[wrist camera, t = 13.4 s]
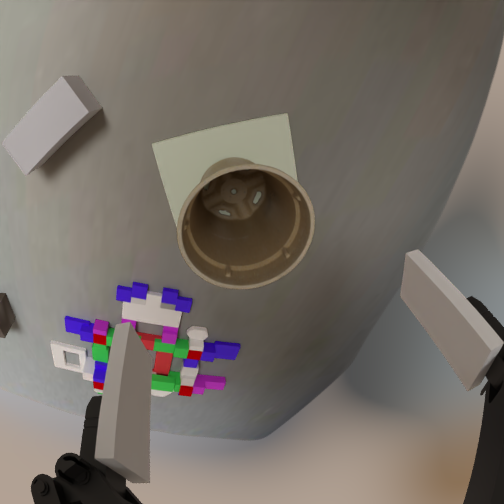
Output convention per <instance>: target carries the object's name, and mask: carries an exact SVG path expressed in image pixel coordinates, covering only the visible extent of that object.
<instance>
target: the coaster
mask: <svg viewBox="0 0 504 504" xmlns="http://www.w3.org/2000/svg"><path fill="white" fill-rule="evenodd" d="M152 147H153V151H154V154H155V158H156V162H157V165H158V168H159V172H160V175H161V179H162V182H163V185H164V189H165V192H166V195H167V199H168V202H169V205H170V208H171V212H172V215H173V218H174V221H175V224H176V227H177V223H178V217H179V214H180V210H181V208H182V206H183V203H184V201H185V200H186V198H187V197H188V195H189V194H190V192H191V191H192V190H193V189H194V188H195V187H196V185H198V184H199V183H200V181H201V178H202V176H203V175H204V173H205V172H206V170H207V169H208V168H209V167H210V166H212V165H213V164H215V163H216V162H218V161H220V160H223V159H226V158H230V157H239V158H244V159H247V160H250V161H252V162H253V163H255V164H261V165H266V166H271V167H274V168H277V169H279V170H281V171H283V172H285V173H286V174H288V175H289V176H291V177H292V178H294V179H295V180H296V181H297V174H296V166H295V159H294V152H293V145H292V138H291V132H290V125H289V119H288V114H287V113H283V114H277V115H271V116H266V117H260V118H255V119H250V120H245V121H240V122H235V123H230V124H226V125H221V126H217V127H212V128H208V129H204V130H200V131H196V132H192V133H188V134H184V135H180V136H176V137H173V138H169V139H166V140H162V141H158V142H155V143H152ZM246 170H249V169H246ZM297 182H298V181H297ZM209 183H210V182H209ZM209 183H208V184H206V185H205V186H204V189H208V186H209ZM232 193H233V194H235V193H236V190H235V189H233V190H232ZM260 197H261V192H257V194H256V196H255V198H254V201H253V203H255V204H256V203H257V202H258V200H259V198H260ZM219 212H220V213H221V214H224V215H230V213H228V212H226V211H221V210H219Z"/></svg>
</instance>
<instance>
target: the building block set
mask: <svg viewBox="0 0 504 504" xmlns="http://www.w3.org/2000/svg"><path fill="white" fill-rule="evenodd" d="M147 290H148V284H142V283H137V282H133V286H132V288H130V287H125V286H120V285H118V287H117V296H116V300H118V301H123V310H122V323H126V322H131V324H132V326H133V327H134V329H135V330H136V321H139V322H145V323H151V324H157V325H163V332H162V336H158V335H152V334H146V333H141V332H136V333H137V334H138V336H139V338H140V339H141V341H142V343H143V344H144V346H145V348H146V349H147V350H153V351H157V352H156V359H155V365H154V369H152V383H151V394H152V395H154V396H161V397H164V396H166V395H168V394H170V393H172V392H174V391H175V392H178V395H182V396H191V395H192V393H194V394H203V392H204V389H205V388H206V389H217V390H223V388H224V386H225V384H226V381H225V377H220V376H209V375H199V374H197V373H198V370H199V364H198V361H199V360H202V361H211V362H213V360H214V358H220V359H230V360H235V359H236V356H237V354H238V352H239V349H240V344H239V343H229V342H221V341H215V343H207V342H203V340H205V339H206V338H207V337H208V332H207V329H206V328H205V327H198V326H191V327H190V328H189V329H187V335H188V336H189V340H185V339H178V338H177V332H178V328H179V323H180V319H181V315H182V312H187V313H189V312H190V308H191V304H192V298H186V297H180V296H178V291H179V290H176V289H170V288H163V293H157V292H152V291H147ZM146 296H147V297H146ZM65 327H66V331H67V332H71V333H75V334H80V337H81V340H82V341H87V342H92V343H93V346H92V354H93V358H91V357H87V353H86V348H82V347H78V346H73V345H69V344H65V343H61V342H57V341H53V340H51V343H50V344H51V349H52V355H53V360H54V365H55V366H56V367H59V368H63V369H67V370H72V371H76V372H80V373H83V379H84V380H89V381H93V385H94V392H98V394H103V388H104V382H105V376H106V370H107V365H108V360H109V346H111V344H112V340H113V335H114V330H115V329H114V328H109V322H107V321H102V320H97V319H96V320H95V324H94V323H90V321H87V320H82V319H78V318H73V317H69V316H66V317H65ZM64 351H68V352H72V353H76V354H79V359H80V366H79V365H74V364H70V363H66V359H65V352H64ZM172 356H173V357H178V358H183V362H182V366H181V370H180V372H173V371H169V370H170V365H171V361H172Z"/></svg>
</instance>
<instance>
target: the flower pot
mask: <svg viewBox="0 0 504 504" xmlns="http://www.w3.org/2000/svg"><path fill="white" fill-rule="evenodd" d="M246 169H249V170H246ZM209 182H210V183H209ZM208 183H209V186H208V189H204V186H205V185H206V184H208ZM233 189H235V190H236V193H235V194H233V193H232V190H233ZM257 192H261V197H260V198H259V200H258V202H257V203H256V204H255V203H253V201H254V198H255V196H256V194H257ZM219 210H221V211H226V212H228V213H230V215H224V214H221V213H220V212H219ZM314 228H315V217H314V209H313V206H312V203H311V200H310V198H309V196H308V194H307V193H306V191H305V190H304V188H303V187H302V186H301V185H300V184H299V183H298V182H297V181H296V180H295V179H294V178H292V177H291V176H289V175H288V174H286V173H285V172H283V171H281V170H279V169H277V168H274V167H271V166H266V165H261V164H255V163H253V162H252V161H250V160H247V159H244V158H239V157H230V158H226V159H223V160H220V161H218V162H216V163H215V164H213V165H212V166H210V167H209V168H208V169H207V170H206V172H205V173H204V175H203V176H202V178H201V181H200V183H199V184H198V185H196V187H195V188H194V189H193V190H192V191H191V192H190V194H189V195H188V197H187V198H186V200H185V201H184V203H183V206H182V208H181V210H180V214H179V217H178V223H177V241H178V245H179V249H180V251H181V254H182V256H183V258H184V260H185V261H186V263H187V264H188V266H189V267H190V268H191V269H192V271H194V273H196V274H197V275H198V276H199V277H201V278H202V279H204V280H205V281H207V282H209V283H211V284H214V285H216V286H219V287H223V288H228V289H251V288H257V287H261V286H264V285H267V284H270V283H272V282H274V281H276V280H278V279H280V278H281V277H283V276H284V275H286V274H287V273H289V272H290V271H291V270H293V269H294V268H295V267H296V266H297V265H298V263H299V262H300V261H301V260H302V258H303V257H304V256H305V254H306V252H307V251H308V249H309V246H310V243H311V241H312V238H313V234H314Z"/></svg>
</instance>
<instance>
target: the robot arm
mask: <svg viewBox="0 0 504 504" xmlns="http://www.w3.org/2000/svg"><path fill="white" fill-rule="evenodd" d="M400 297H401V298H402V299H403V301H404V302H405V303H406V305H407V306H408V307H409V309H410V310H411V311H412V313H413V314H414V315H415V317H416V318H417V319H418V321H419V322H420V323H421V325H422V326H423V327H424V328H425V330H426V332H427V333H428V334H429V336H430V337H431V338H432V340H433V341H434V343H435V344H436V345H437V347H438V348H439V350H440V351H441V353H442V354H443V355H444V357H445V358H446V360H447V361H448V363H449V364H450V365H451V367H452V368H453V370H454V372H455V373H456V375H457V376H458V378H459V379H460V380H461V382H462V384H463V385H464V386H465V388H466V390H467V391H469V390H471V389H473V388H474V387H476V386H478V385H479V384H480V383H481V382H482V380H483V379H484V377H485V376H486V377H487V379H488V382H487V383H486V385H485V386H484V388H483V389H482V391H481V394H480V395H483V393H484V392H485V390H486V394H485V403H484V412H483V419H482V426H481V432H480V437H479V443H478V448H477V453H476V458H475V462H474V466H473V470H472V475H471V479H470V482H469V486H468V489H467V493H466V497H465V500H464V503H463V504H504V327H503V326H502V325H501V324H500V322H499V321H498V320H497V319H496V318H495V317H493V315H492V313H491V312H490V311H488V309H487V308H486V307H485V306H484V305H483V303H482V302H480V301H479V300H477V299H475V298H474V297H472V296H471V297H468V298H465V297H464V296H463V295H462V293H461V292H460V291H459V290H458V289H457V288H456V287H455V286H454V285H453V284H452V283H451V282H450V281H449V280H448V279H447V278H446V277H445V276H444V275H443V274H442V273H441V272H440V270H439V269H437V267H436V266H434V264H433V263H432V262H431V261H430V260H429V259H428V258H427V257H426V256H424V255H423V254H422V253H421V252H420V251H419V250H414V251H411V252H408V253H406V256H405V264H404V272H403V279H402V286H401V294H400ZM152 366H153V359H152V357H151V356H150V354H149V353H148V351H147V349H146V348H145V346H144V344H143V343H142V341H141V339H140V338H139V336H138V334H137V333H136V331H135V329H134V327H133V326H132V324H131V322H126V323H121V324H116V326H115V330H114V335H113V340H112V344H111V349H110V354H109V360H108V365H107V370H106V376H105V382H104V388H103V394H102V396H94V397H92V398H91V400H90V402H89V404H88V406H87V409H86V415H85V419H86V420H85V421H84V429H83V435H82V443H81V450H80V456H78V455H77V454H74V453H66V454H64V455H62V456H61V457H60V458H59V459H58V460H57V463H56V465H55V473H56V476H57V477H56V478H51V477H50V476H48V475H45V474H40V475H38V476H36V477H35V478H34V480H33V481H32V485H31V492H32V496H33V499H34V503H35V504H142V503H141V502H140V501H139V499H138V498H137V497H136V496H135V495H134V494H133V493H132V492H131V490H130V489H129V488H128V487H126V479H127V480H128V481H130V482H132V483H150V455H149V454H150V405H151V383H152Z"/></svg>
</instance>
